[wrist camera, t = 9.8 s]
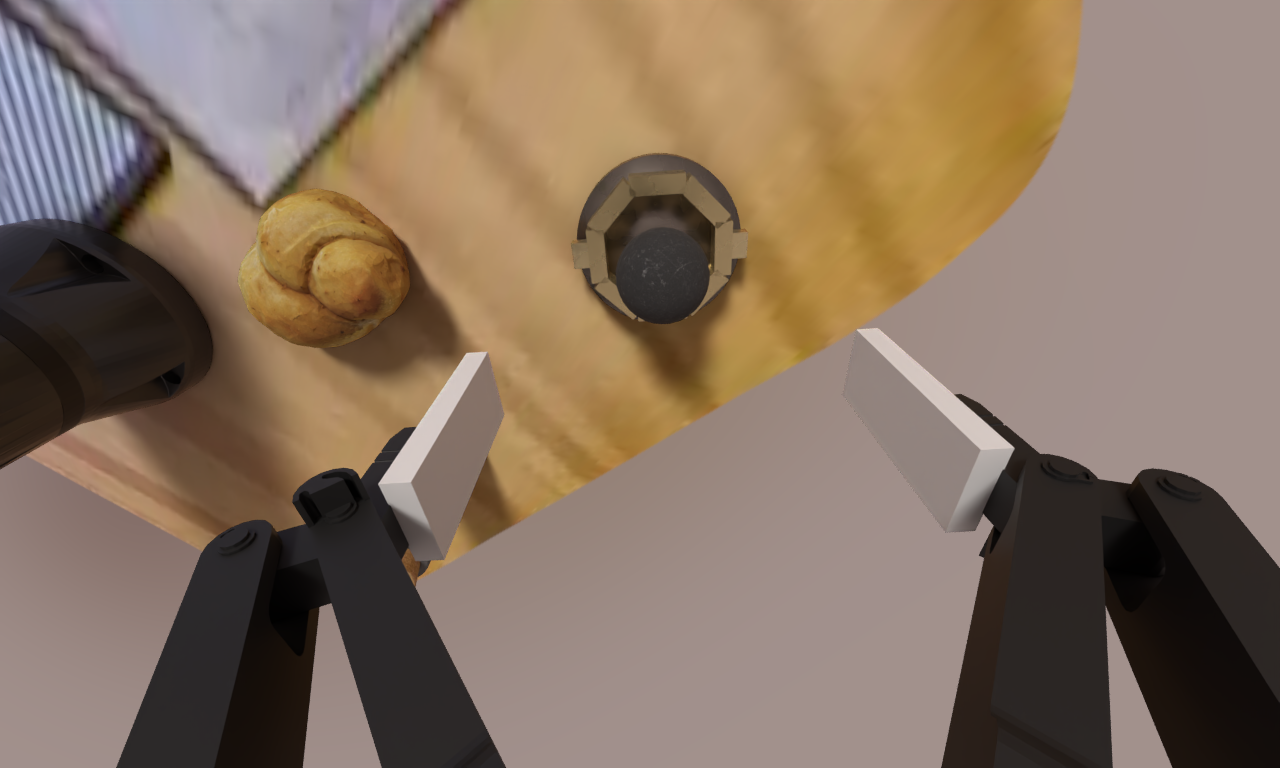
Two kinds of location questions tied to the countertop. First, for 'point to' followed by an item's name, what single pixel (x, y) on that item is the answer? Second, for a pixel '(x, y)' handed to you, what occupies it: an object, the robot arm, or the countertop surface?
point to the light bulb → (662, 275)
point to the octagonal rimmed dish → (657, 220)
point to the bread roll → (323, 270)
